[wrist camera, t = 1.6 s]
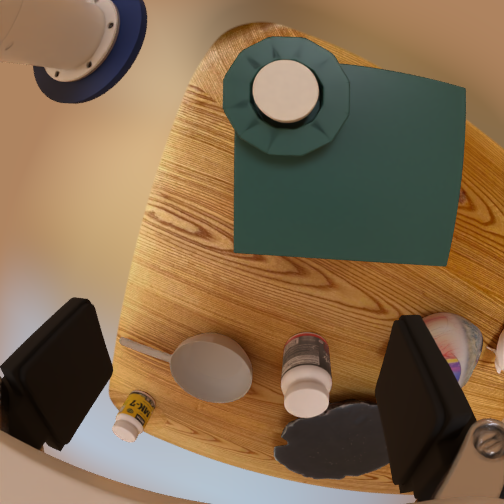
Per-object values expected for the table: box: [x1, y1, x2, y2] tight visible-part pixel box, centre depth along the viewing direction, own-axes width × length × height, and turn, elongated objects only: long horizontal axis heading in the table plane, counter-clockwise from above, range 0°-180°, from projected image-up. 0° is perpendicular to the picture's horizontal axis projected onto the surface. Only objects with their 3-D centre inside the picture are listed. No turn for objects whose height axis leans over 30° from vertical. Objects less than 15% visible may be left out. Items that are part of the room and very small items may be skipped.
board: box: [274, 399, 389, 479], centre depth 41 cm, size 22×22×5 cm
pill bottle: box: [281, 332, 332, 418], centre depth 34 cm, size 6×6×10 cm
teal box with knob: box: [223, 36, 466, 266], centre depth 22 cm, size 12×11×19 cm
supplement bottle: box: [112, 390, 155, 442], centre depth 43 cm, size 5×5×8 cm
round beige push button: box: [253, 60, 319, 123], centre depth 12 cm, size 3×3×2 cm
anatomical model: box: [422, 313, 483, 388], centre depth 32 cm, size 10×12×10 cm
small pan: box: [119, 333, 252, 403], centre depth 40 cm, size 11×18×4 cm, turn 73°
